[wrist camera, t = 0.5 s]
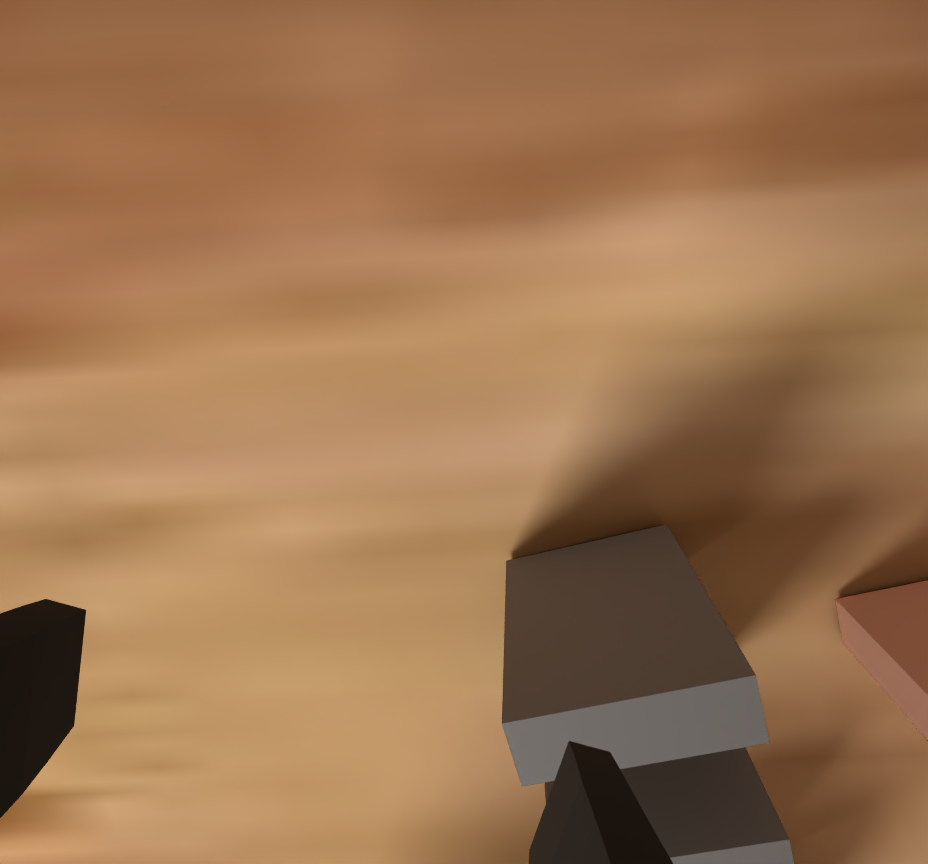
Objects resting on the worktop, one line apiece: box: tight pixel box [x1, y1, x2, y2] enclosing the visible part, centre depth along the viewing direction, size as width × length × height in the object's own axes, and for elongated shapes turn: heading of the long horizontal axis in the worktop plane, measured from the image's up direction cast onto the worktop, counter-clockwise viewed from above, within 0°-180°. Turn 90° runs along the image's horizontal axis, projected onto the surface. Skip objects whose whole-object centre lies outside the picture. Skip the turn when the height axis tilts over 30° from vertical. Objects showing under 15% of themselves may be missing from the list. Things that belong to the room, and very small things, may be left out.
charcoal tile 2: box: [545, 747, 794, 864], centre depth 16 cm, size 2×5×7 cm, turn 106°
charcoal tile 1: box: [502, 524, 770, 786], centre depth 15 cm, size 2×5×7 cm, turn 106°
